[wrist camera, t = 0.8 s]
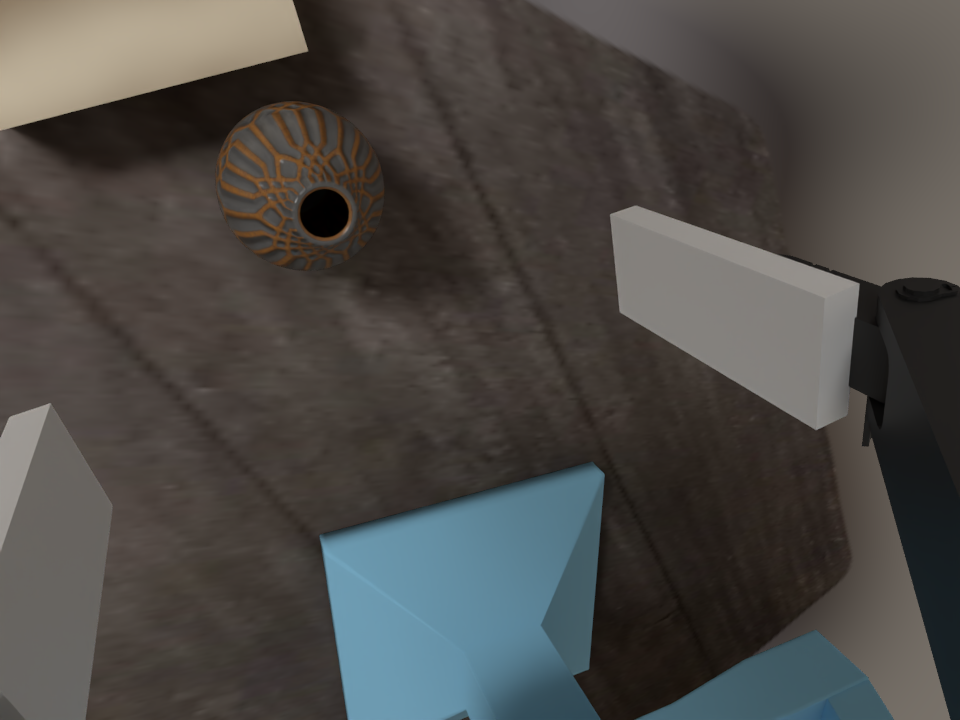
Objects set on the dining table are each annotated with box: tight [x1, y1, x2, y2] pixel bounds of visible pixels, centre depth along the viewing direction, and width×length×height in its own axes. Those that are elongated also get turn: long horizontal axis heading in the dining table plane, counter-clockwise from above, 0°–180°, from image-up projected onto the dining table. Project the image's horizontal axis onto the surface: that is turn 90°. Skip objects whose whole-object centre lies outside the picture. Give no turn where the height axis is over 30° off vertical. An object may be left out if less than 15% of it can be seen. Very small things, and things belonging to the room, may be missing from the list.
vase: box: [215, 101, 385, 271], centre depth 28 cm, size 7×7×9 cm
